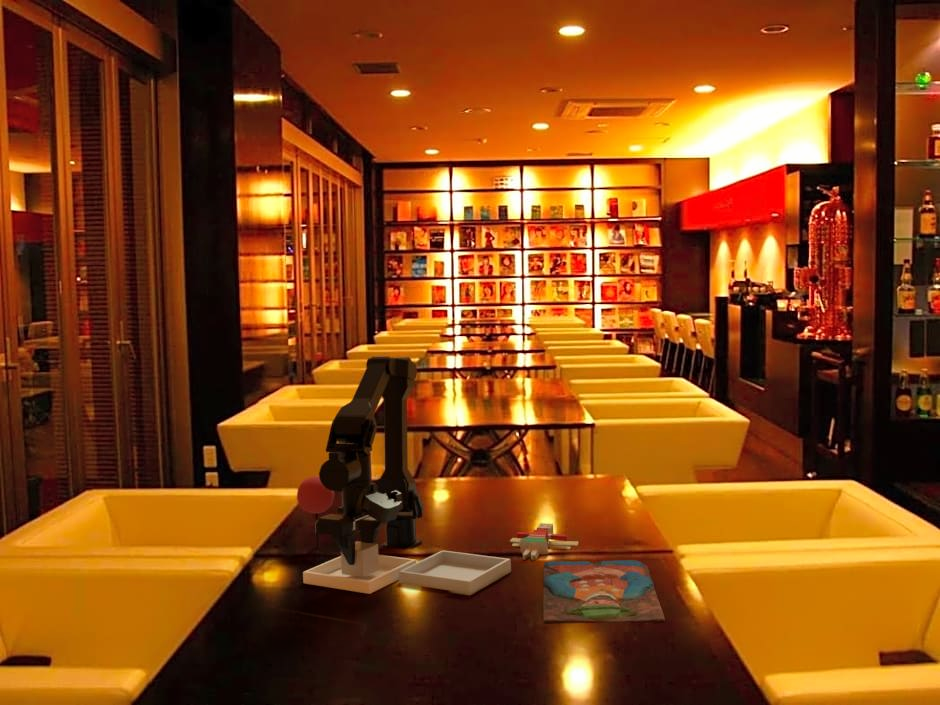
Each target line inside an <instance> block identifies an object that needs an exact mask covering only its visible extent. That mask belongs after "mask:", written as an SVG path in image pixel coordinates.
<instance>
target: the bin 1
mask: <svg viewBox="0 0 940 705" xmlns="http://www.w3.org/2000/svg"><path fill="white" fill-rule="evenodd" d="M378 555H379V570H378V571H376V572H374V573H372V574H369V575H367V576H365V577H358V576H352V575H345V574H342V566H341V555H340V556H338V557H335V558H333V559H332V558H331V559H330V560H328V561H325V562H324V563H321V564H319V565H316V566H314V567H311V568H309V569H307V570H304V571H303V572H302V580H303V581H302V582H303V584H306V585H311V586H319V587H325V588H330V589H331V588H332V589H338V590H343V591H344V590H345V591H350V592H355V593H363V594H369V595H371V594H373V593H375V592H377V591H378V590H381V589H382V588H385V587H387V586H389V585H391V584H392V583H395V582H397V581H399V571H401V570H403V569H405V568H407V567H409V566H411V565H413V564H415V563H417V559H414V558H413V559H412V558H407V557H399V556H392V555H386V554H385V555H384V554H378Z"/></svg>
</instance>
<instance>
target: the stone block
mask: <svg viewBox="0 0 940 705" xmlns="http://www.w3.org/2000/svg"><path fill="white" fill-rule="evenodd" d="M379 555H380V554H379V543H375V544H374V543H366V542H361V541H356V540H355V562H354V565H349V564H348V562H347V561H346V559H345V557H344V555H343V553H342V551H341V550H340V556H341V566H342V574H345V575H352V576H358V577H365V576H367V575H369V574H372V573H374V572H376V571H378V570H379Z"/></svg>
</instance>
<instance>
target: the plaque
mask: <svg viewBox="0 0 940 705" xmlns="http://www.w3.org/2000/svg"><path fill="white" fill-rule="evenodd" d="M542 607H543V613H542V614H543V616H542V617H543V618H542V619H543V623H547V624H553V623H557V624H558V623H560V624H562V623H566V624H567V623H570V624H572V623H647V622H648V623H650V622H653V623H654V622H655V623H656V622H661V623H662V622H666V619H665V614H664V612H663V608H662V607H661V604H660V601H659V598H658V594H657V591H656V588H655V584H654V582H653V580H652V577H651V573H650V570H649V567H648V566H647V564H644V563H643V562H642V561H639V560H636V559H634V560H633V559H626V560H625V559H624V560H623V559H621V560H617V559H616V560H602V561H600V562H591V561H588V560H587V561H585V560H580V561H579V560H578V561H576V560H573V561H572V560H557V561H556V560H555V561H554V560H553V561H551V560H550V561H546V562H545V563H544V564H543V606H542Z"/></svg>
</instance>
